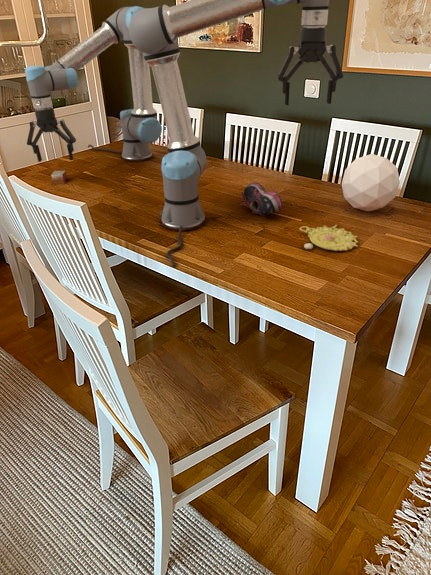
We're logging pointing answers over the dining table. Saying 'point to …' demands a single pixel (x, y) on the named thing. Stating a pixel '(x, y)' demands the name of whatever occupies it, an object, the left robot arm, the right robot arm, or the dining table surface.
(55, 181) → the block
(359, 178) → the sphere
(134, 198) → the dining table surface
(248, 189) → the athletic shoe
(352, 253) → the dining table surface
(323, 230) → the decorative object
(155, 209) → the dining table surface
